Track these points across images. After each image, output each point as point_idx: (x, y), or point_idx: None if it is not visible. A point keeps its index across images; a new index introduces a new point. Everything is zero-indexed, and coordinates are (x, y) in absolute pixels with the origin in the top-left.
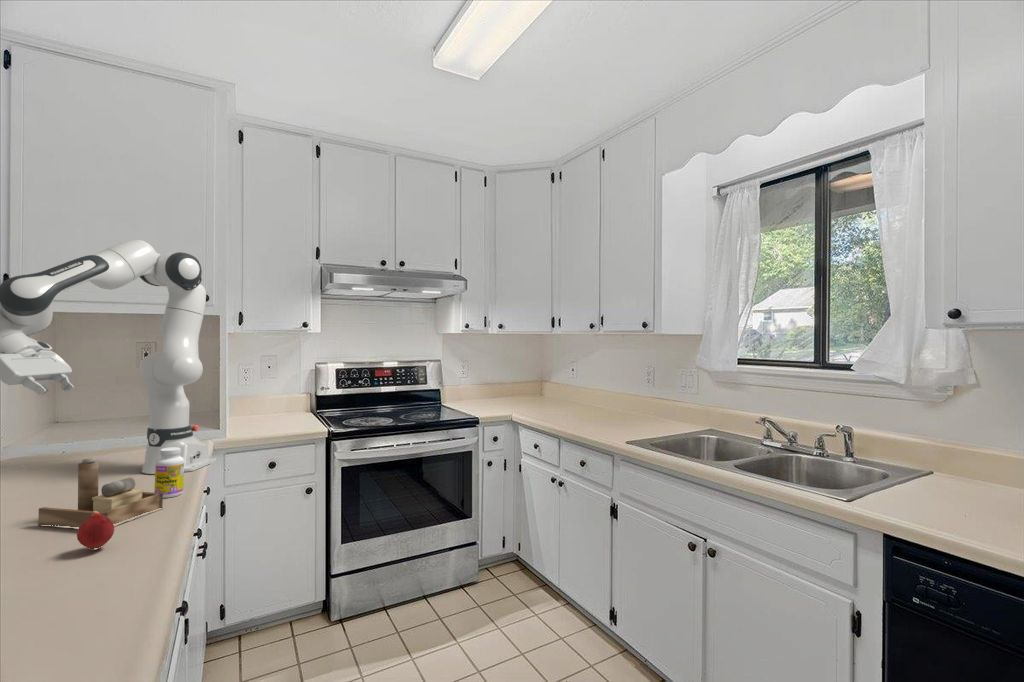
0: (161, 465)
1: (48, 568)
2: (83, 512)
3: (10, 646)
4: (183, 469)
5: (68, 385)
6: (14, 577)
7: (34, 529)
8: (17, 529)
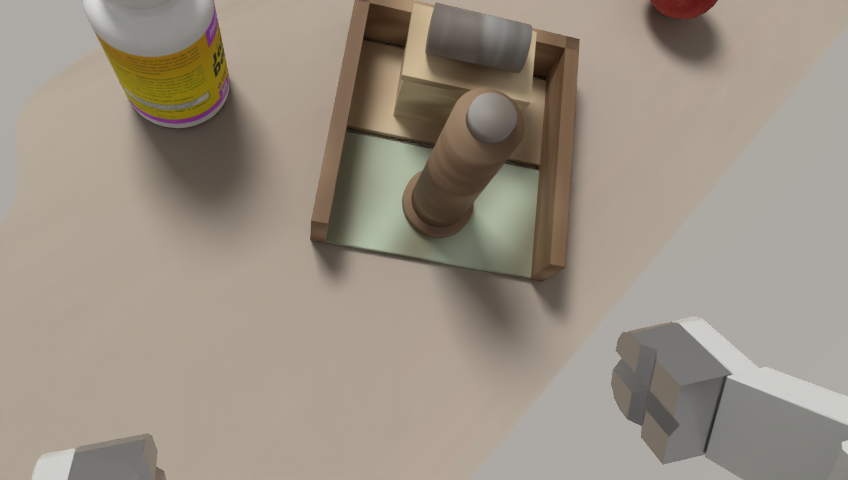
0: (213, 8)
1: (755, 36)
2: (575, 100)
3: None
4: None
5: (135, 469)
6: (801, 67)
7: (567, 267)
8: (575, 319)
